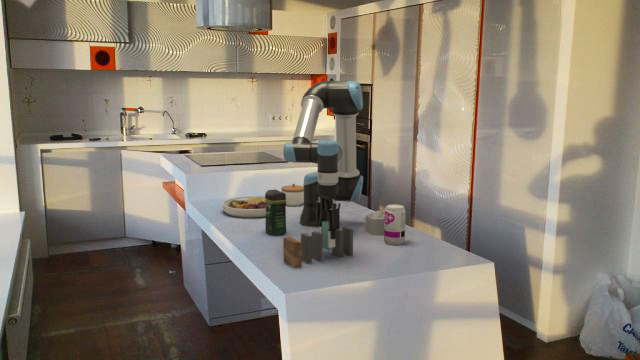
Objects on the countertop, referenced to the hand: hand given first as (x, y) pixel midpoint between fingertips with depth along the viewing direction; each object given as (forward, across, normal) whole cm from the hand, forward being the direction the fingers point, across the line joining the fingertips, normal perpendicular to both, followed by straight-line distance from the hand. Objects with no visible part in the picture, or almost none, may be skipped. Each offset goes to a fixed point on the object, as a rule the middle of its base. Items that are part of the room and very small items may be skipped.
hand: (327, 245), depth 225 cm
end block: (+5, 0, -15) cm, 16 cm away
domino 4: (+5, 0, +4) cm, 7 cm away
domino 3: (+1, 0, 0) cm, 1 cm away
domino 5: (+5, 0, +9) cm, 10 cm away
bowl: (+5, -82, +9) cm, 83 cm away
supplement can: (+5, -3, +34) cm, 34 cm away
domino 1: (+5, 0, -9) cm, 10 cm away
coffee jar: (+5, -41, 0) cm, 41 cm away
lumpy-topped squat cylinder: (+5, -19, +40) cm, 45 cm away
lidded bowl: (+5, -86, +34) cm, 93 cm away
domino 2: (+5, 0, -4) cm, 7 cm away
